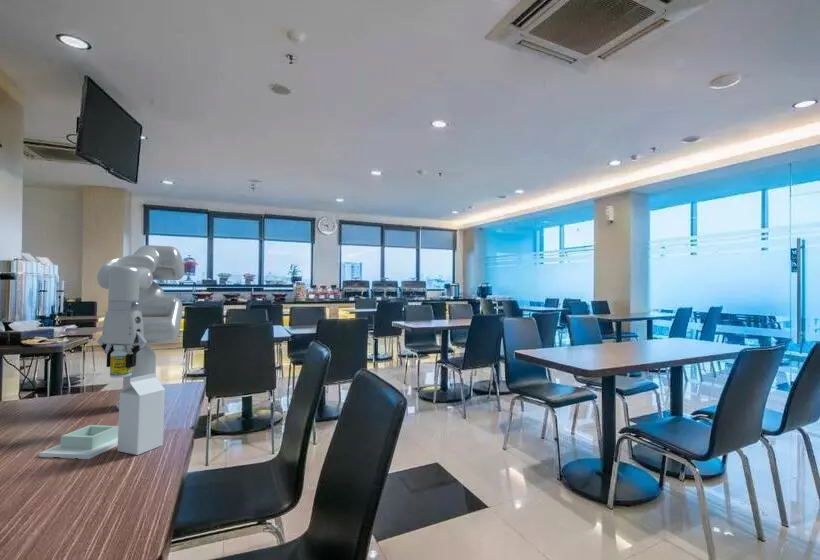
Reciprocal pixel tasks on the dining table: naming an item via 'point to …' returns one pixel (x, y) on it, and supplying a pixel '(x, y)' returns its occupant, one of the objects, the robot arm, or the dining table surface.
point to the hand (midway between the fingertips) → (121, 365)
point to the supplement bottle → (119, 362)
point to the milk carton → (141, 415)
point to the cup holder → (84, 442)
